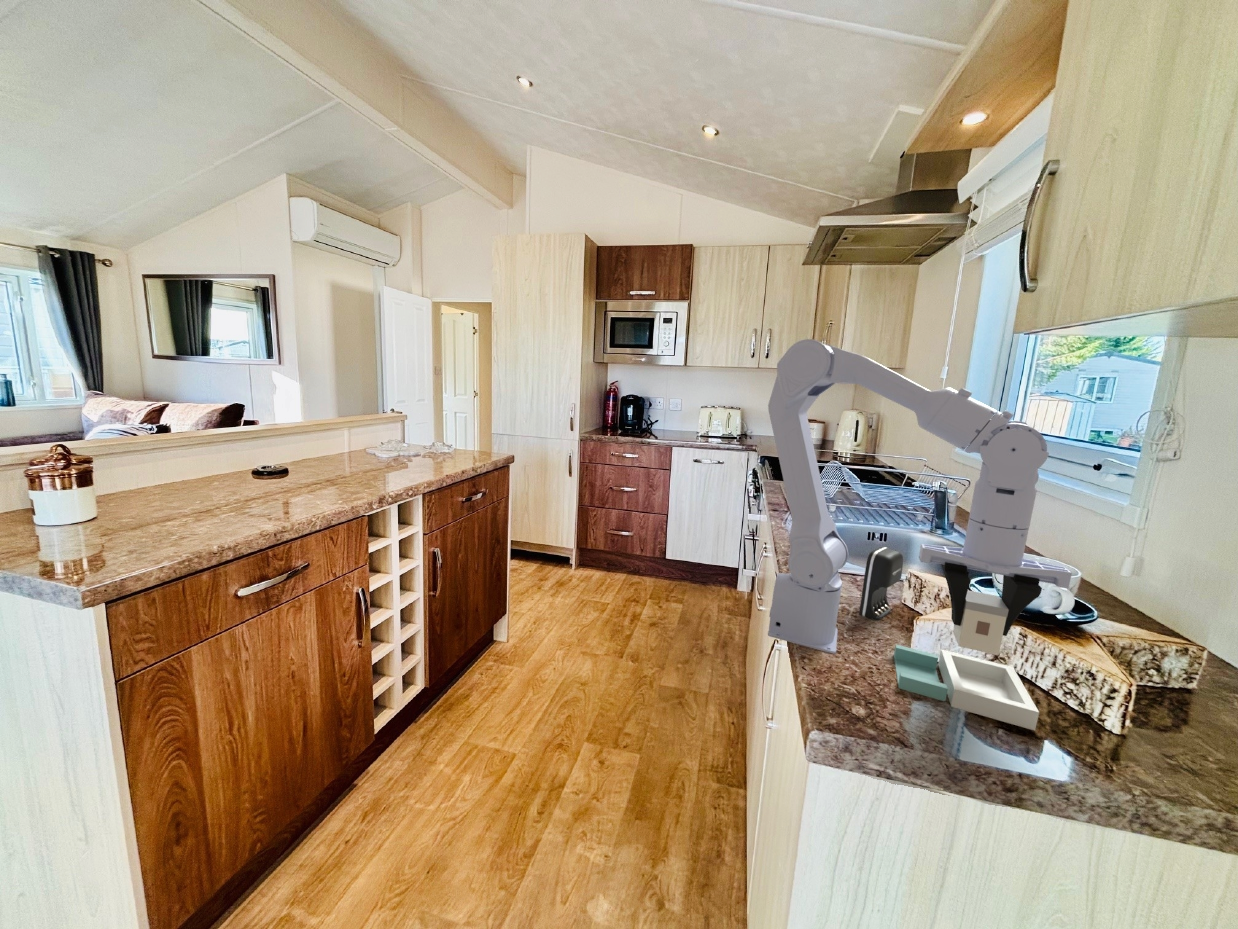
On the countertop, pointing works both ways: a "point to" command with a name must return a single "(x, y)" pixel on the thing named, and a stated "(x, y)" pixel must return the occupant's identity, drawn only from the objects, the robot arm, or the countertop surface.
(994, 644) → the block
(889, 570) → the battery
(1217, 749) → the countertop surface
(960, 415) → the robot arm
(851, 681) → the countertop surface
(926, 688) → the holder
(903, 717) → the countertop surface
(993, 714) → the tray
